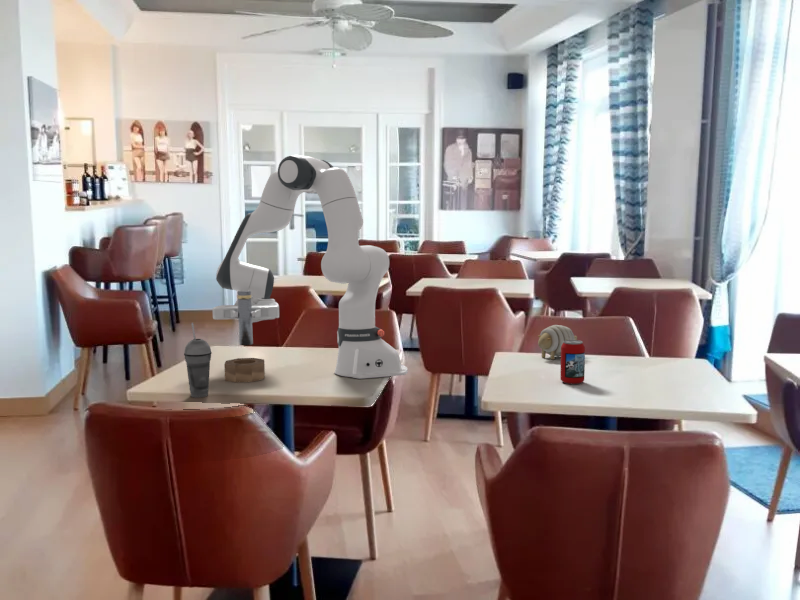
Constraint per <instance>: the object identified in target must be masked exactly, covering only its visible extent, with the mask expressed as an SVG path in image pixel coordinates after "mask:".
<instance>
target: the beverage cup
mask: <svg viewBox="0 0 800 600" xmlns="http://www.w3.org/2000/svg"><path fill="white" fill-rule="evenodd" d="M190 324H191V329H192V330H191V331H192V335H193V339H191V340H190V341H189V342H188V343H187V344H186V346H185V347H184V352H183V356H184V360H185V364H186V371H187V378H188V386H189V392H190V396H191V397H192V398H205V397H207V396H209V389H210V388H209V385H210V367H211V366H210V365H211V360H212V359H211V358H212V354H213V353H212V349H211V346H210V345H209V343H208V342H207V341H206V340H204V339H202V338H196V332H195V326H194V322H191V323H190Z"/></svg>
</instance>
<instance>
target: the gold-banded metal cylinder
mask: <svg viewBox="0 0 800 600" xmlns="http://www.w3.org/2000/svg"><path fill="white" fill-rule="evenodd" d="M236 297H237V300H238V320H237V321H238V342H239V346H252V345H253V344H254V338H253V336H254V335H253V323H252V314H251V312H252V306H251V298H252V297H251V291H237V295H236Z"/></svg>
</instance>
